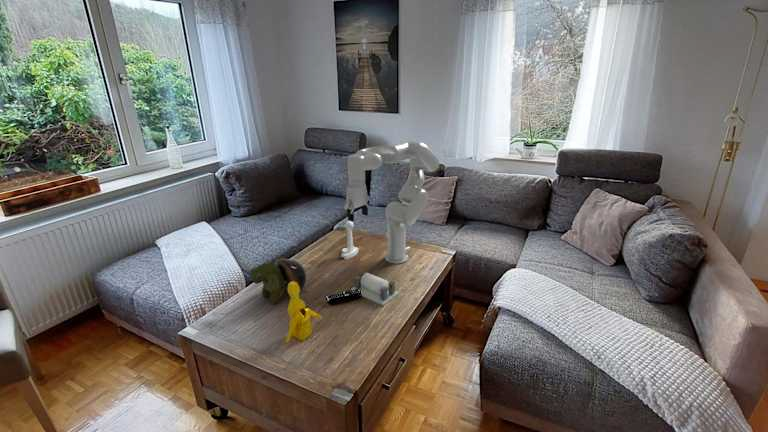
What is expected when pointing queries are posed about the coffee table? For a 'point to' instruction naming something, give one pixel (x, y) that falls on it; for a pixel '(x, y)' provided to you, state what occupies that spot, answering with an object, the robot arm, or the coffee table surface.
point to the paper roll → (374, 283)
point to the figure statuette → (299, 314)
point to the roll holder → (378, 298)
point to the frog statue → (279, 277)
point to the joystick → (349, 243)
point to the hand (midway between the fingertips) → (358, 217)
